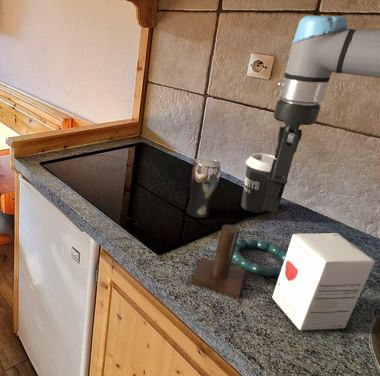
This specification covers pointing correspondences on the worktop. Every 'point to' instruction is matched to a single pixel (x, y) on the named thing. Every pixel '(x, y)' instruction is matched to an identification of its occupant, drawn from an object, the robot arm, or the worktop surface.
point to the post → (221, 266)
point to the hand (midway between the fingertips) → (271, 198)
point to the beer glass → (202, 186)
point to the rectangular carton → (321, 280)
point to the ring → (255, 267)
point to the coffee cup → (256, 181)
